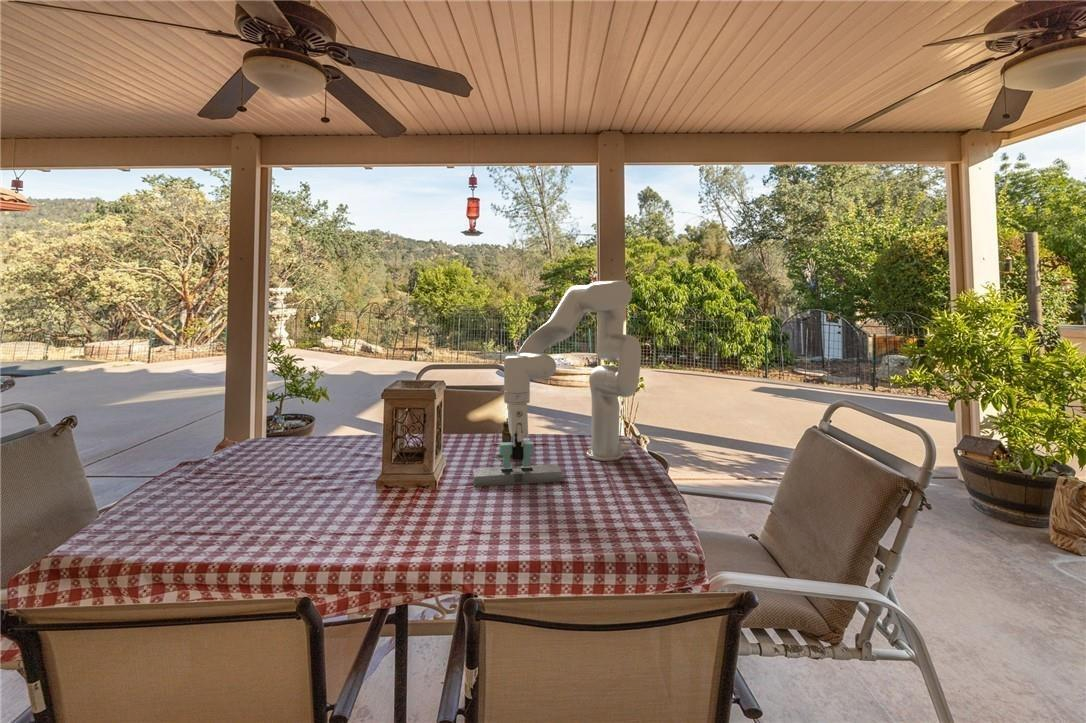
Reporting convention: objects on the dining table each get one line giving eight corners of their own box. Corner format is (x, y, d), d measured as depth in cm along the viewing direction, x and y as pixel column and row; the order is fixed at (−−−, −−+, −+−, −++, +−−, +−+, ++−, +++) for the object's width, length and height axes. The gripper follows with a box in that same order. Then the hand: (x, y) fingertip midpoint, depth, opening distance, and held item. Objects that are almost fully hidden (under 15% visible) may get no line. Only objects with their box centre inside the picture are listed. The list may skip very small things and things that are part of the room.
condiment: (524, 456, 172) (524, 422, 170) (505, 461, 166) (505, 426, 164) (511, 451, 177) (511, 418, 176) (492, 456, 171) (492, 422, 170)
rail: (557, 473, 155) (557, 463, 154) (561, 481, 148) (562, 471, 147) (473, 478, 150) (472, 468, 150) (474, 486, 143) (473, 476, 143)
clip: (532, 463, 151) (532, 441, 150) (533, 466, 148) (534, 444, 147) (499, 465, 149) (499, 442, 148) (500, 468, 146) (500, 445, 145)
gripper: (534, 402, 139) (533, 466, 141) (525, 392, 155) (525, 449, 157) (507, 403, 137) (507, 467, 139) (501, 392, 153) (501, 450, 155)
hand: (516, 457), depth 148 cm, fingers closed on clip, 3 cm apart
